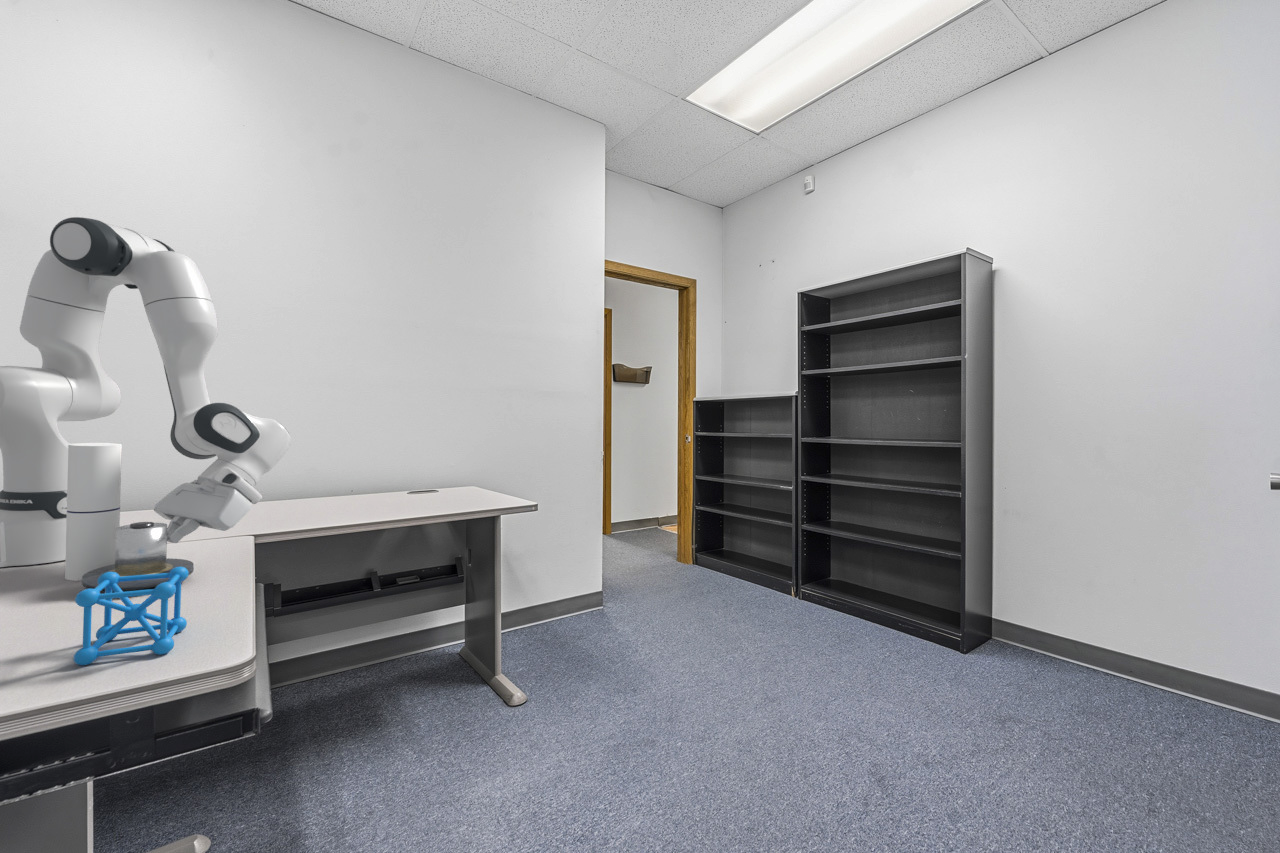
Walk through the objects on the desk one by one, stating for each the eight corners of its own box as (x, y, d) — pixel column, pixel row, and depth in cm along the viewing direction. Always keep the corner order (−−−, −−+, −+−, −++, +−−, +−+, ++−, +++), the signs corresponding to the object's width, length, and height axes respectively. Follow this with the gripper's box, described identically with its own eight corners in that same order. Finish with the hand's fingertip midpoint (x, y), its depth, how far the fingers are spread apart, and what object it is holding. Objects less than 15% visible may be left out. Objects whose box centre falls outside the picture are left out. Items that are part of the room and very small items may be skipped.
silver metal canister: (103, 573, 96) (104, 526, 96) (144, 562, 103) (145, 518, 102) (137, 577, 95) (138, 529, 95) (176, 566, 102) (177, 521, 102)
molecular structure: (171, 656, 74) (174, 584, 73) (69, 670, 69) (72, 592, 68) (188, 628, 82) (190, 563, 82) (98, 639, 77) (101, 570, 77)
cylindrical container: (56, 582, 98) (60, 445, 97) (75, 570, 104) (78, 442, 103) (109, 578, 101) (113, 446, 100) (124, 567, 107) (128, 443, 107)
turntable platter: (56, 585, 92) (57, 578, 92) (147, 561, 107) (147, 555, 107) (132, 594, 90) (132, 586, 90) (213, 568, 105) (214, 562, 105)
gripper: (181, 469, 113) (121, 524, 104) (246, 479, 106) (187, 538, 97) (204, 488, 117) (148, 542, 108) (268, 498, 110) (214, 557, 101)
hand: (167, 540), depth 103 cm, fingers closed, pressing on silver metal canister
